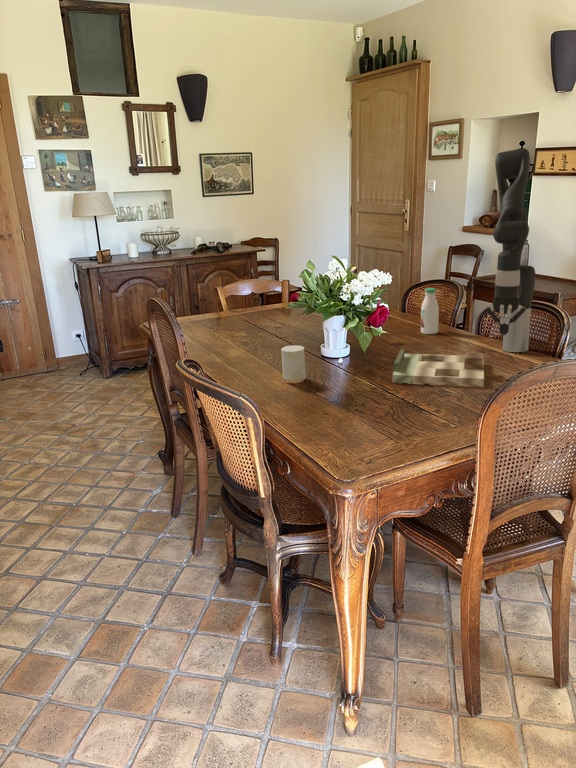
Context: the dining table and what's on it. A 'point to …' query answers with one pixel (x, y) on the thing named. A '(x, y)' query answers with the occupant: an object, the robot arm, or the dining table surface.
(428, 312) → the milk bottle
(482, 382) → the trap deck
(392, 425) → the dining table surface
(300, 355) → the grey beige cylinder
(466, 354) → the walnut block
